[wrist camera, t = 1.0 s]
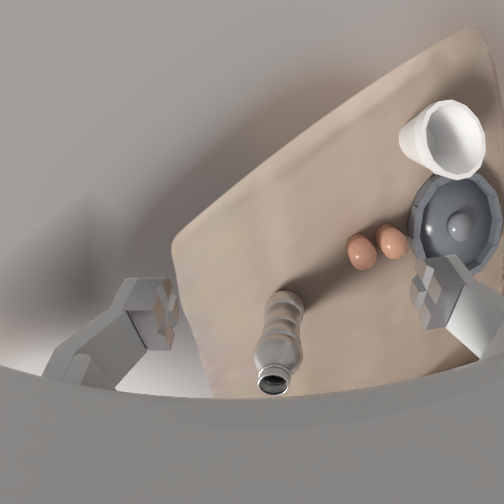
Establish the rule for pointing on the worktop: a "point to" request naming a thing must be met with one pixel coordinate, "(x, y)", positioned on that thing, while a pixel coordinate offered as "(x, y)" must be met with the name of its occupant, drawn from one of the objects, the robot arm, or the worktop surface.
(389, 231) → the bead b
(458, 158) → the foam cup
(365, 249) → the peach egg shape
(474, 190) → the tray
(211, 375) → the worktop surface
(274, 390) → the plastic bottle
